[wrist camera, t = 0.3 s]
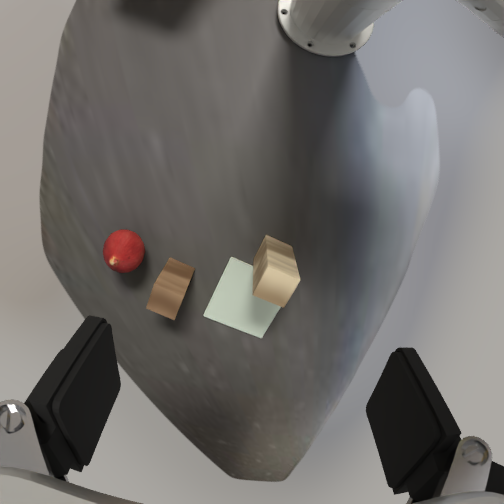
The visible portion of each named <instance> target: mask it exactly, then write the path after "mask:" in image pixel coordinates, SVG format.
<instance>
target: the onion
mask: <svg viewBox="0 0 504 504" xmlns="http://www.w3.org/2000/svg"><path fill="white" fill-rule="evenodd" d="M144 253H145V248H144V243H143V241H142V240H141V238H140V236H138V235H137V234H136V233H135V232H132V231H130V230H118V231H116V232H114V233H111V235H110V236H109V237H108V238H107V240H106V241H105V244H104V248H103V255H104V260H105V262H106V264H107V265H108V266H109V267H110V268H111V269H112V270H114V271H116V272H119V273H125V272H131V271H132V270H134V269H136V268H137V267H138V266H139V265H140V263H141V262H142V261H143V257H144Z"/></svg>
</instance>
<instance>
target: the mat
mask: <svg viewBox="0 0 504 504" xmlns="http://www.w3.org/2000/svg"><path fill="white" fill-rule="evenodd" d="M252 293H253V266H252V265H250V264H248V263H245V262H243V261H241V260H238V259H236V258H234V257H231V258H230V260H229V262H228V264H227V266H226V268H225V270H224V273H223V275H222V277H221V279H220V281H219V283H218V285H217V287H216V289H215V292H214V294H213V296H212V298H211V300H210V302H209V304H208V306H207V308H206V311H205V313H204V315H203V316H205V317H207V318H210V319H212V320H215V321H217V322H220V323H222V324H225V325H227V326H230V327H233V328H235V329H238V330H240V331H243V332H246V333H248V334H251V335H254V336H256V337H259V338H262V337H263V335H264V333H265V332H266V330H267V329H268V327H269V325H270V324H271V322H272V321H273V319H274V317H275V316H276V314H277V312H278V311H279V309H280V307H281V306H278V305H276V304H273V303H271V302H268V301H266V300H263V299H261V298H258V297H256V296H253V295H252Z"/></svg>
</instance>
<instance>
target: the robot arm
mask: <svg viewBox="0 0 504 504" xmlns="http://www.w3.org/2000/svg"><path fill="white" fill-rule="evenodd" d="M401 1H403V0H279V1H278V10H277V13H278V19H279V22H280V24H281V27H282V29H283V30H284V32H285V33H286V35H287V36H288V37H289V38H290V39H291V40H292V41H293V42H294V43H296V44H297V45H298V46H300V47H301V48H303V49H305V50H307V51H309V52H312V53H314V54H317V55H322V56H330V57H337V56H344V55H347V54H350V53H353V52H355V51H356V50H358V49H360V48H361V47H362V46H363V45H365V43H366V42H367V41H368V40H369V38H370V36H371V34H372V31H373V27H374V22H375V21H376V20H377V19H378V18H380V17H381V16H382V15H384V14H385V13H386V12H388V11H389V10H391V9H392V8H393V7H395V6H396V5H397V4H399V3H400V2H401ZM456 1H457V2H459V3H460V4H461V5H463V6H464V7H465V8H466V9H468V10H469V11H470V12H472V13H473V14H474V15H475V16H476V17H478V18H479V19H480V20H481V21H483V22H484V23H485V24H486V25H488V26H489V27H490V28H491V29H493V30H494V31H495V32H497V33H498V34H499V35H500V36H502V37H504V0H456ZM282 13H286V15H283V14H282ZM308 44H310V45H311V47H308ZM350 45H352V46H353V48H351V47H350ZM120 386H121V383H120V376H119V371H118V365H117V360H116V354H115V348H114V341H113V335H112V328H111V325H110V324H107V321H106V319H104V318H100V317H95V316H88V317H87V318H86V319H85V320H84V322H83V323H82V325H81V326H80V327H79V329H78V330H77V331H76V333H75V334H74V335H73V337H72V338H71V339H70V341H69V342H68V343H67V345H66V346H65V348H64V349H62V350H61V351H60V352H59V353H58V354H57V356H56V357H55V359H54V360H53V361H52V363H51V364H50V366H49V367H48V369H47V370H46V371H45V373H44V374H43V376H42V377H41V379H40V380H39V382H38V383H37V385H36V386H35V388H34V389H33V391H32V392H31V394H30V395H29V397H28V398H27V400H26V402H25V403H22V402H20V401H18V400H6V401H2V402H0V504H142V503H137V502H133V501H129V500H125V499H122V498H117V497H114V496H110V495H107V494H103V493H100V492H96V491H93V490H90V489H87V488H84V487H81V486H78V485H75V484H72V483H69V481H68V478H67V476H66V474H68V472H69V469H70V468H71V469H74V470H76V471H79V472H82V469H83V466H84V465H86V466H88V465H89V463H90V461H91V458H92V456H93V453H94V451H95V448H96V446H97V443H98V441H99V438H100V436H101V433H102V431H103V429H104V426H105V424H106V421H107V419H108V416H109V414H110V412H111V409H112V407H113V404H114V402H115V400H116V398H117V395H118V393H119V391H120ZM366 413H367V417H368V420H369V423H370V426H371V429H372V432H373V436H374V439H375V442H376V446H377V449H378V452H379V456H380V459H381V462H382V466H383V470H384V473H385V476H386V480H387V484H388V486H389V487H391V488H393V492H394V494H400V493H404V492H409V495H410V498H409V500H408V501H407V503H406V504H504V466H502V465H499V464H497V463H495V462H493V461H492V452H491V449H490V447H489V445H488V444H487V443H486V442H485V441H484V440H482V439H481V438H479V437H475V436H468V437H465V438H463V439H462V440H461V438H460V434H461V431H460V429H459V427H458V425H457V423H456V421H455V419H454V418H453V416H452V414H451V412H450V410H449V408H448V406H447V405H446V403H445V401H444V399H443V397H442V396H441V393H440V392H439V390H438V388H437V386H436V385H435V383H434V381H433V380H432V378H431V376H430V374H429V372H428V371H427V369H426V367H425V366H424V364H423V362H422V360H421V359H420V357H419V355H418V354H417V352H416V350H415V349H414V348H397V349H396V351H395V352H392V353H391V355H390V357H389V359H388V362H387V364H386V366H385V368H384V370H383V373H382V375H381V377H380V379H379V381H378V383H377V385H376V387H375V389H374V391H373V393H372V395H371V397H370V399H369V401H368V403H367V406H366Z"/></svg>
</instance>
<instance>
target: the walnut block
mask: <svg viewBox="0 0 504 504" xmlns="http://www.w3.org/2000/svg"><path fill="white" fill-rule="evenodd" d="M194 270H195V268H193V267H191V266H188V265H186V264H184V263H181V262H179V261H177V260H174V259H172V258H169V260H168V261H167V263H166V265H165V266H164V268H163V270H162V272H161V273H160V275H159V277H158V278H157V280H156V282H155V284H154V286H153V289H152V292H151V295H150V298H149V301H148V304H147V307H146V308H147V309H149V310H152V311H154V312H156V313H159V314H161V315H163V316H166V317H168V318H170V319H173V320H175V317H176V315H177V312H178V310H179V307H180V305H181V302H182V300H183V298H184V295H185V293H186V290H187V287H188V285H189V282H190V280H191V277H192V275H193V272H194Z"/></svg>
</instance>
